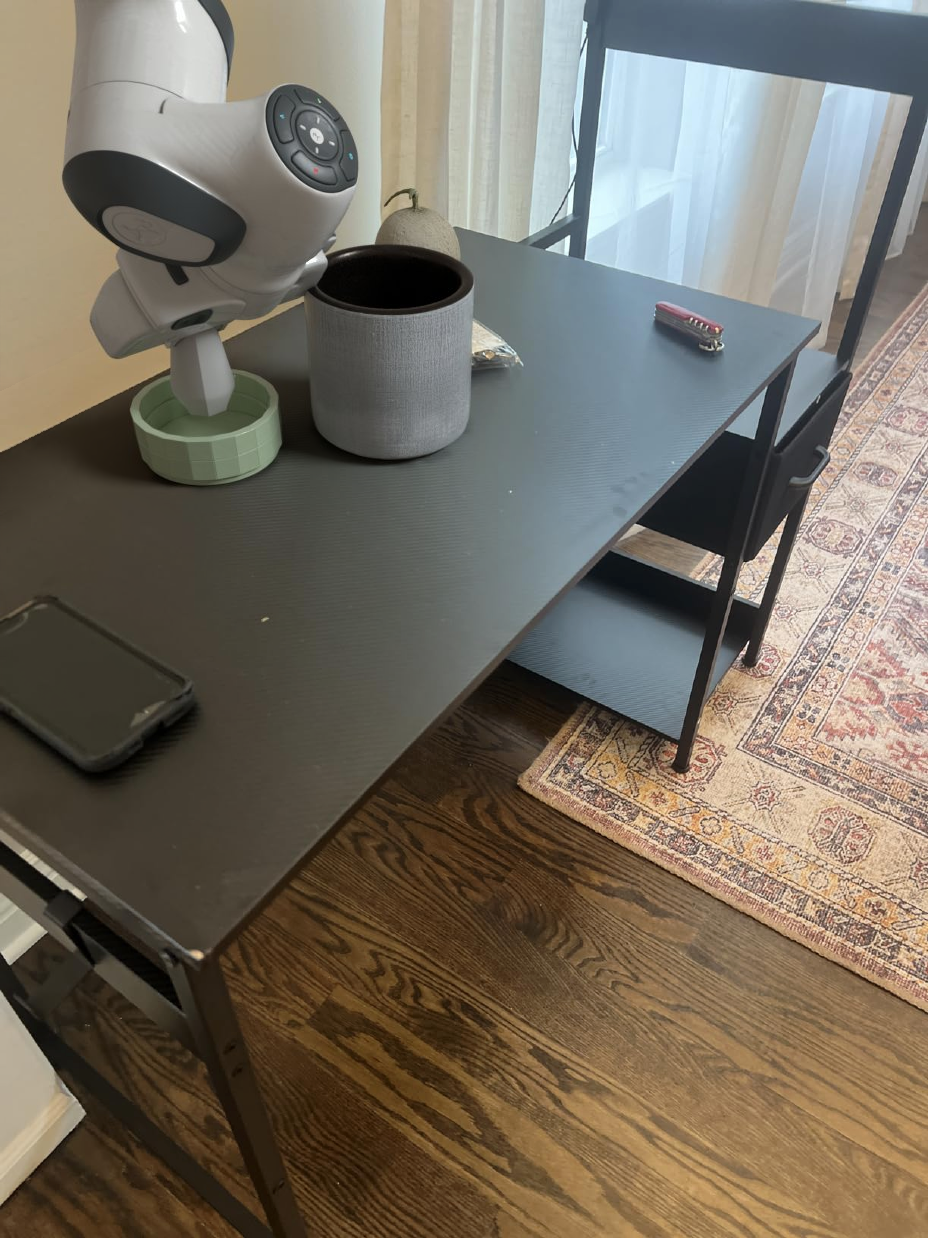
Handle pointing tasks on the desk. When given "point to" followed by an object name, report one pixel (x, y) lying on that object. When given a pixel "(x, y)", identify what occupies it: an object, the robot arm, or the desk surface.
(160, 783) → the desk surface
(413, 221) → the fruit
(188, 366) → the grey tapered column
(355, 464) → the desk surface
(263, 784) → the desk surface
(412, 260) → the planter
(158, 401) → the bowl
